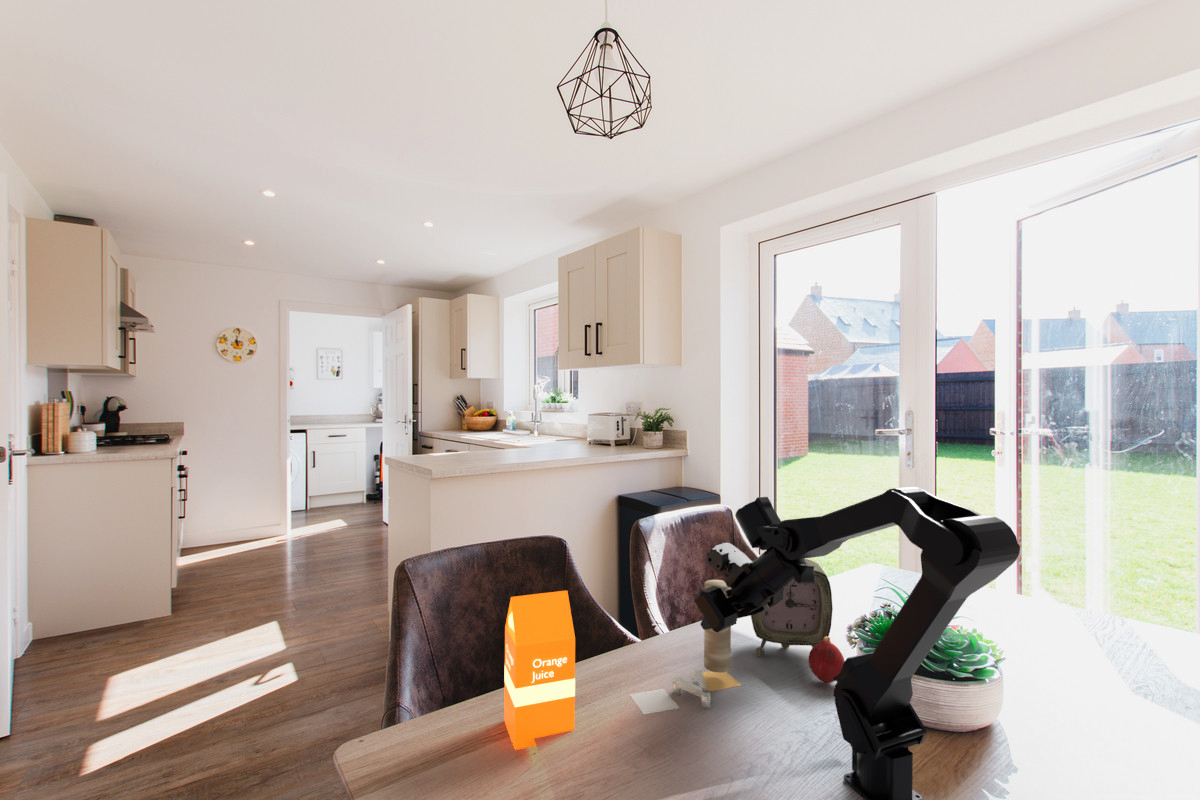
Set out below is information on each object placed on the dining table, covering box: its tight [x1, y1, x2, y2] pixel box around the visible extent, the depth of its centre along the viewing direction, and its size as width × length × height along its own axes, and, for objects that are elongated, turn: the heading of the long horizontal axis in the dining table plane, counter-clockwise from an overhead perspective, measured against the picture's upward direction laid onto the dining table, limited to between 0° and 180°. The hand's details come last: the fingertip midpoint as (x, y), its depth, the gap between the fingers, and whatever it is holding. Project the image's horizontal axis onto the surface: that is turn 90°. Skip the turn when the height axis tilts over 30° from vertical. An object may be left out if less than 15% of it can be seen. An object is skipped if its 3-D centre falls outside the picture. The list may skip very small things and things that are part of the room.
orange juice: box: [503, 590, 576, 751], centre depth 83 cm, size 8×9×20 cm
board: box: [628, 670, 742, 716], centre depth 90 cm, size 14×20×1 cm
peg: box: [703, 579, 732, 673], centre depth 96 cm, size 4×4×14 cm
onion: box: [807, 636, 846, 685], centre depth 97 cm, size 6×6×8 cm
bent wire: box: [671, 669, 712, 711], centre depth 90 cm, size 7×6×2 cm
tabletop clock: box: [750, 558, 833, 657], centre depth 109 cm, size 14×9×25 cm, turn 80°
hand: (710, 622), depth 97 cm, fingers closed on peg, 4 cm apart
